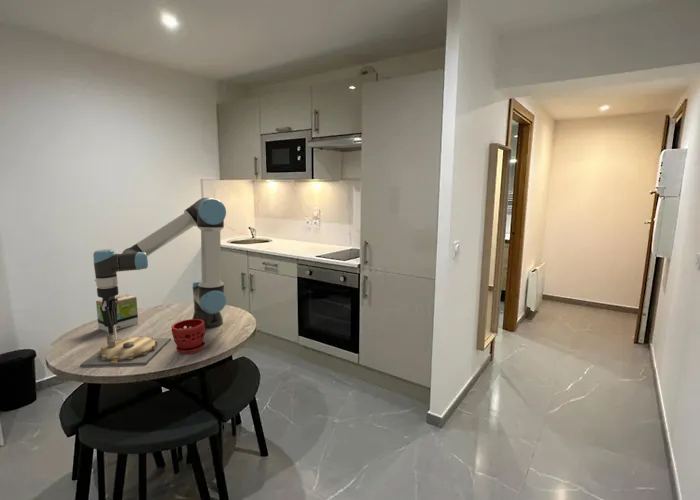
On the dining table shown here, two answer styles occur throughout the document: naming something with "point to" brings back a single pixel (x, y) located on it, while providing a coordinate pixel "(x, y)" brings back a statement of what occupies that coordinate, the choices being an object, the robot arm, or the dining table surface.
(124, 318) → the tea box
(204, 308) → the robot arm
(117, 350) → the sprocket
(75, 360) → the dining table surface
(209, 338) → the dining table surface
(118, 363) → the sprocket base
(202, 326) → the plant pot
